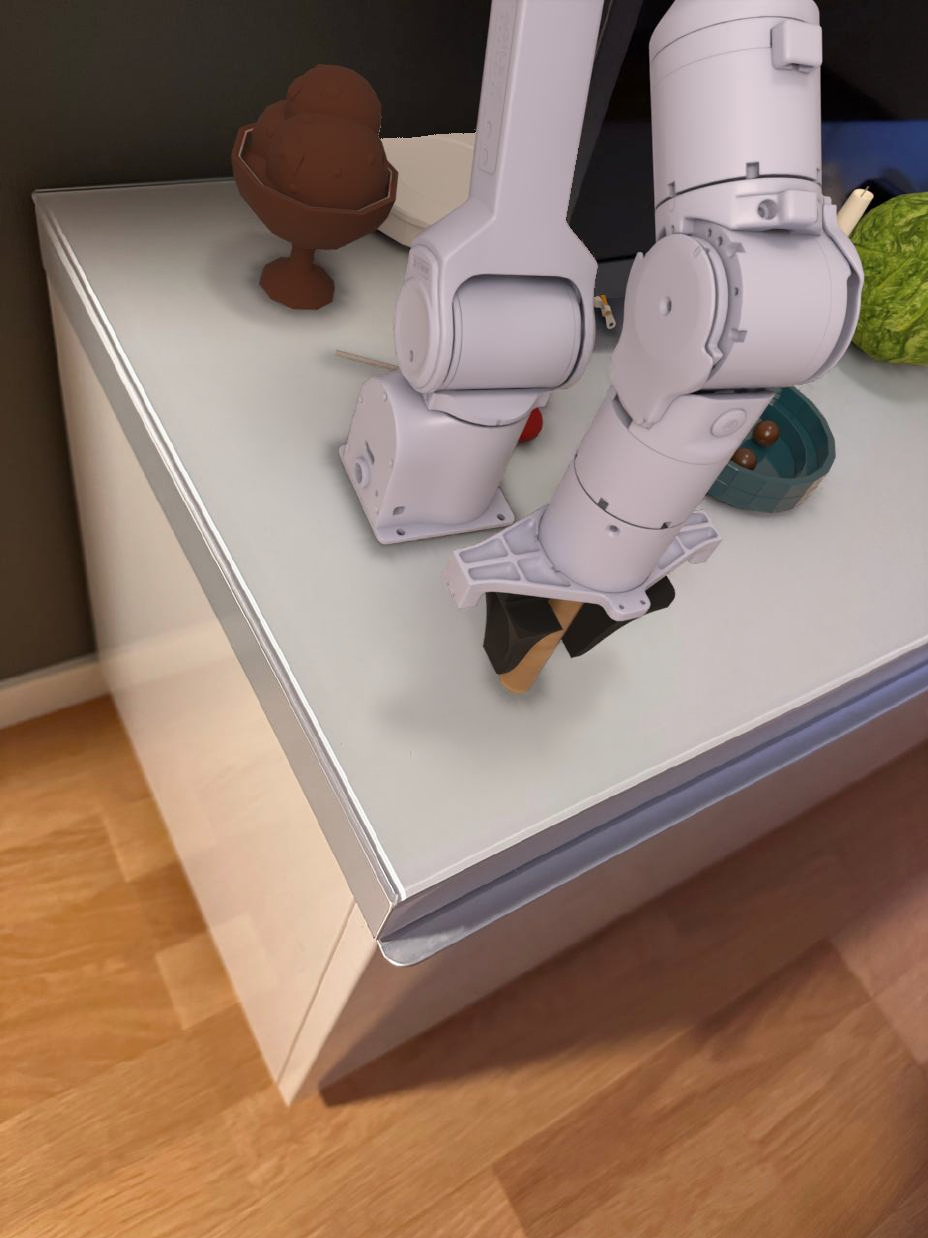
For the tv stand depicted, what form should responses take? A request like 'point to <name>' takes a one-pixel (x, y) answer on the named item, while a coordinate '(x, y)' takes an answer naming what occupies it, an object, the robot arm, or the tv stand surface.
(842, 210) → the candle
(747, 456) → the hazelnut
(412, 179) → the lid
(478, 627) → the tv stand surface
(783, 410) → the bowl
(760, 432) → the hazelnut
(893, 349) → the lettuce
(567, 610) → the stirring stick
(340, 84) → the ice cream bowl
